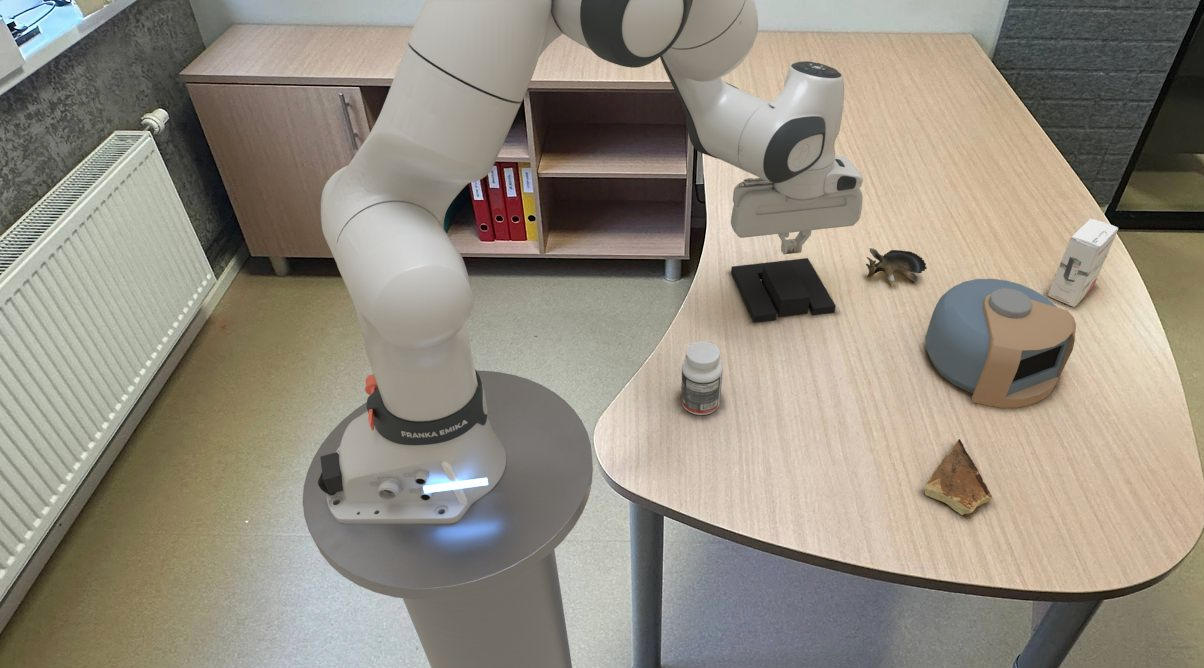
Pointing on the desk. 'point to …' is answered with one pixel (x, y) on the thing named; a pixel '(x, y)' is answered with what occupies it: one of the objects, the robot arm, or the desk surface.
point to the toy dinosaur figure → (896, 264)
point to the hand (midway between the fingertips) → (790, 251)
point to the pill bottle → (701, 378)
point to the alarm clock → (1000, 342)
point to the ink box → (1082, 261)
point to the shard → (958, 482)
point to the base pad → (758, 298)
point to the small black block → (785, 289)
